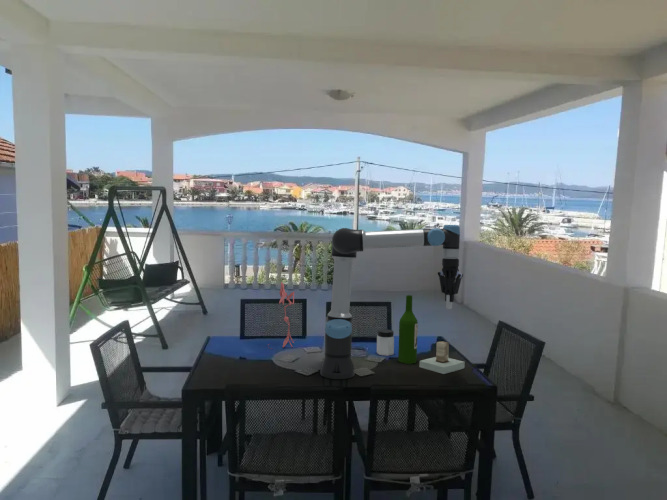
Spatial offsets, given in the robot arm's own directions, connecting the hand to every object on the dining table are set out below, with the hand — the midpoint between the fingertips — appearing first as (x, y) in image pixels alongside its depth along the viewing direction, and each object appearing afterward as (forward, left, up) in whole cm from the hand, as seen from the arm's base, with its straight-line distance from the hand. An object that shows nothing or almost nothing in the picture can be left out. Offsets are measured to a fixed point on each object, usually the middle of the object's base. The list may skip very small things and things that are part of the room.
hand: (449, 308), depth 226 cm
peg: (0, +3, -28) cm, 29 cm away
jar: (-3, +37, -29) cm, 47 cm away
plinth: (0, +3, -28) cm, 29 cm away
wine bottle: (-5, +20, -29) cm, 35 cm away
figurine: (-37, +83, -29) cm, 95 cm away
